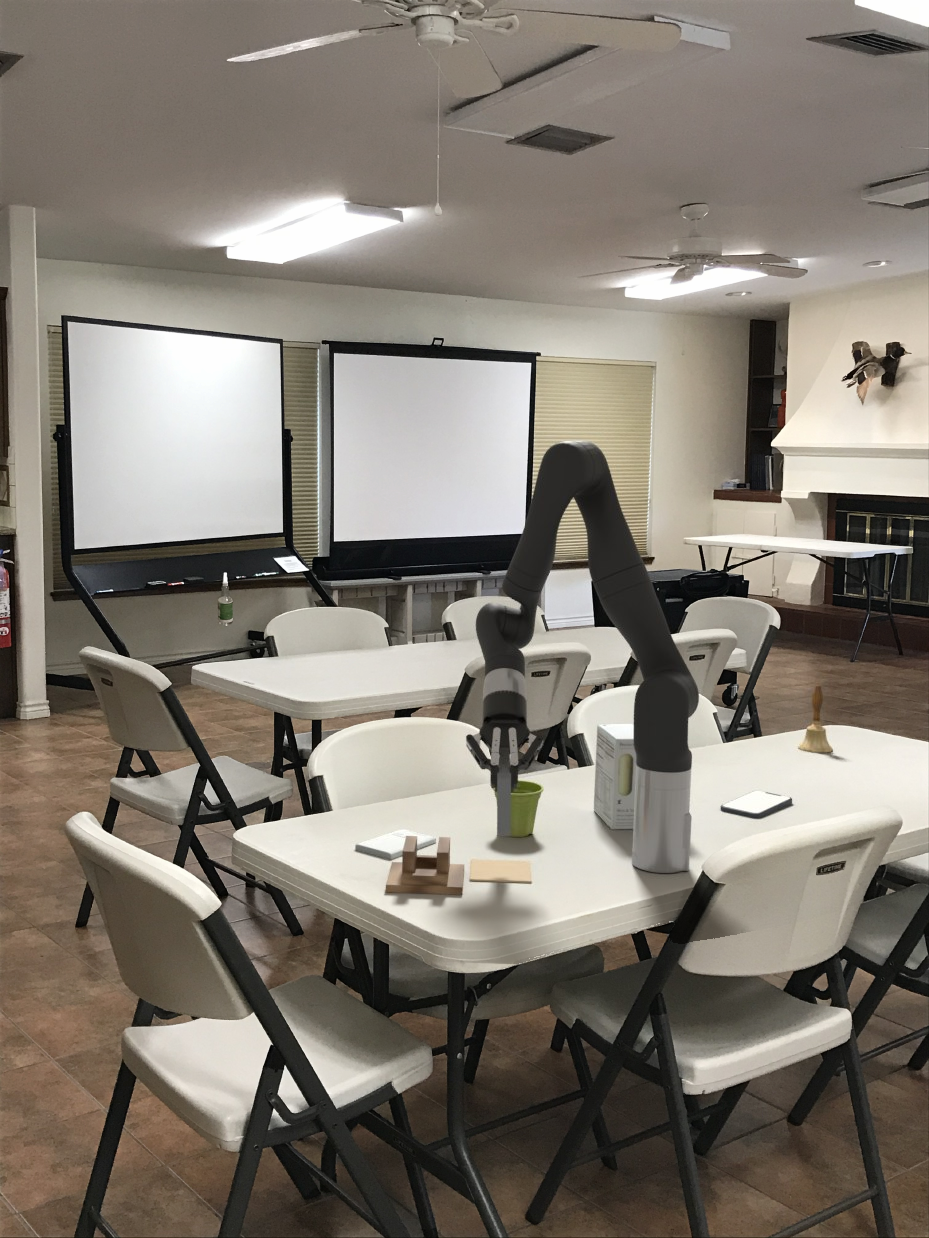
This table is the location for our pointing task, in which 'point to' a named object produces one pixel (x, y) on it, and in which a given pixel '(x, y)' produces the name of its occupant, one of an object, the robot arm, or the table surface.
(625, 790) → the supplement box
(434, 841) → the external hard drive
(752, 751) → the table surface
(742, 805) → the phone case
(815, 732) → the hand bell
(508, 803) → the grey rectangular block
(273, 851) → the table surface
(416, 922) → the table surface
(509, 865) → the cork mat
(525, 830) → the plant pot
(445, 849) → the rack
